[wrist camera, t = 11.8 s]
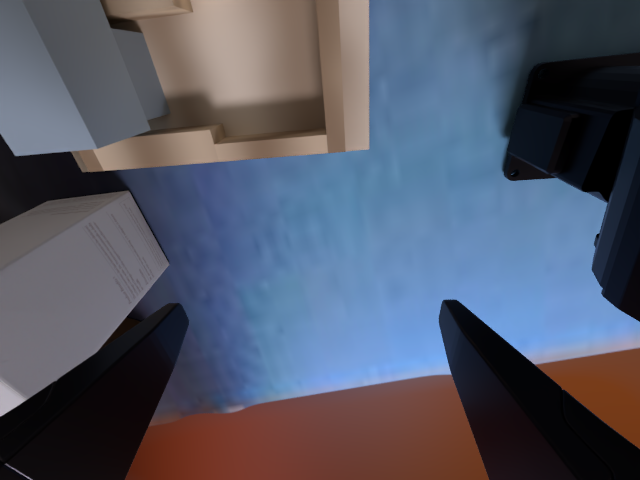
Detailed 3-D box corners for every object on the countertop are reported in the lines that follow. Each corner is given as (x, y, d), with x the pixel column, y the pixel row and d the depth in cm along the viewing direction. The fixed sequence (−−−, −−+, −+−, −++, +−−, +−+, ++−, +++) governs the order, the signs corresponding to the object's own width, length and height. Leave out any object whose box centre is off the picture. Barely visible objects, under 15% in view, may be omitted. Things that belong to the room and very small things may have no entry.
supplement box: (46, 198, 22) (-238, 328, 11) (132, 188, 21) (-87, 319, 10) (98, 272, 26) (-74, 421, 15) (172, 266, 25) (45, 421, 14)
